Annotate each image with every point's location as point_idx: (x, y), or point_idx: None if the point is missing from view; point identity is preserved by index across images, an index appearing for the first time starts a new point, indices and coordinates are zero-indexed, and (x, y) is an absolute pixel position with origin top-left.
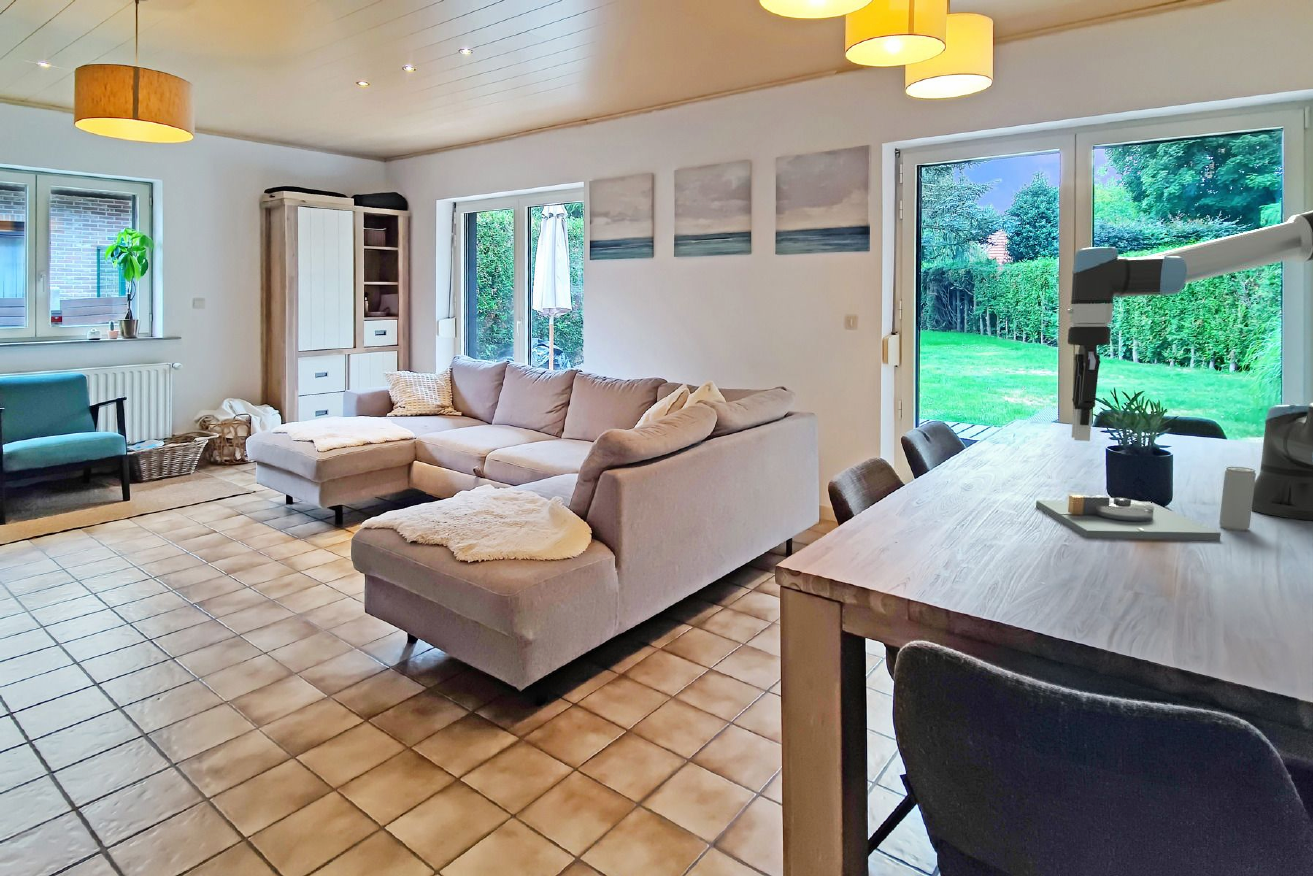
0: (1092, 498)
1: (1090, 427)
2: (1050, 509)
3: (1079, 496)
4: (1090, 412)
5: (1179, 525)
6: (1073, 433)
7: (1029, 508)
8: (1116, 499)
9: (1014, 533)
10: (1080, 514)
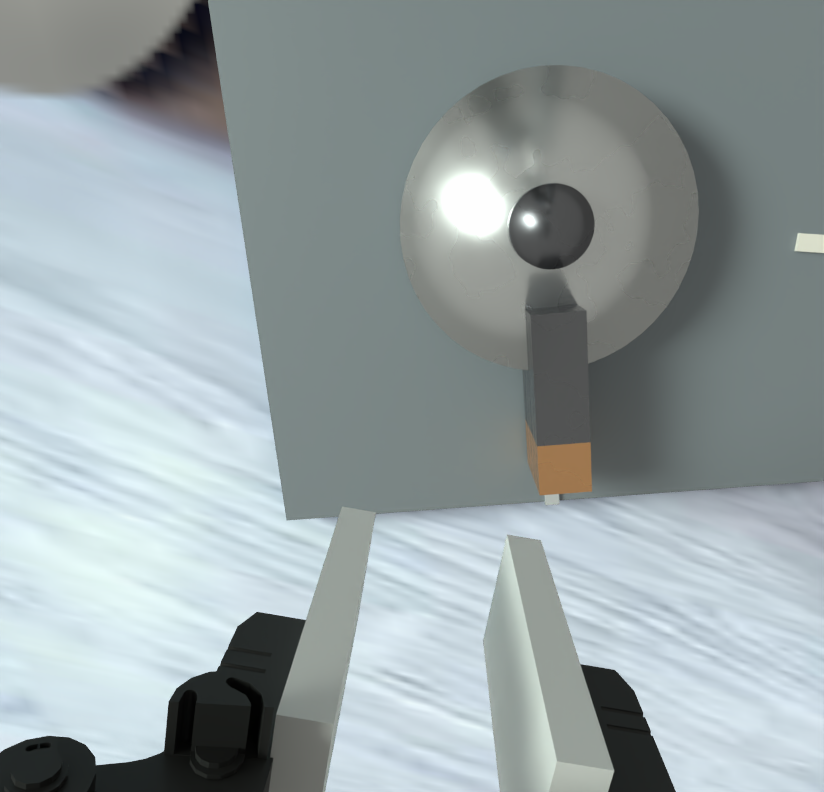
0: (587, 397)
1: (560, 613)
2: (449, 506)
3: (573, 457)
4: (594, 751)
5: (727, 5)
6: (354, 634)
7: (327, 540)
8: (554, 260)
9: (746, 700)
10: None
